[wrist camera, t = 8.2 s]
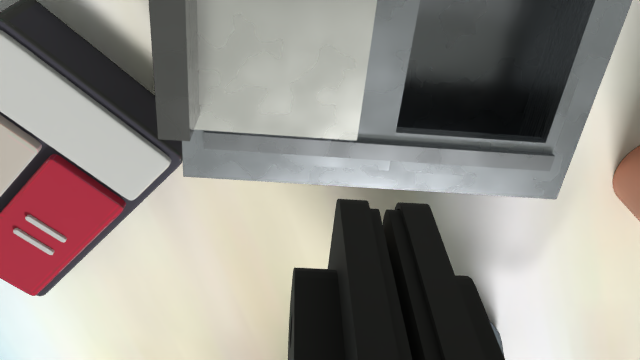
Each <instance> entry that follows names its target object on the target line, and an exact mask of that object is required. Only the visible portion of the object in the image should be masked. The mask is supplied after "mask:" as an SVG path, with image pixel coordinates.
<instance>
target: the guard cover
mask: <svg viewBox="0 0 640 360" xmlns="http://www.w3.org/2000/svg"><path fill="white" fill-rule="evenodd" d="M376 5H377V0H149V11H150V26H151V41H152V56H153V70H154V85H155V100H156V115H157V130H158V139H162V140H177V141H190V140H191V137H192V134H193V132H194V130H209V131H223V132H238V133H253V134H267V135H282V136H297V137H312V138H326V139H341V140H356V141H357V136H358V129H359V123H360V116H361V109H362V102H363V95H364V88H365V81H366V74H367V67H368V61H369V54H370V47H371V40H372V33H373V26H374V19H375V12H376Z"/></svg>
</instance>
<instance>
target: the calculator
mask: <svg viewBox="0 0 640 360" xmlns="http://www.w3.org/2000/svg"><path fill="white" fill-rule="evenodd" d="M182 161H183V154H182V141H177V140H162V139H158V130H157V115H156V100H155V96H154V95H153V94H152V93H151V92H149V91H148V90H147V89H146V88H144V87H143V86H142V85H141V84H139V83H138V82H137V81H136V80H134V79H133V78H132V77H131V76H129V75H128V74H127V73H126V72H124V71H123V70H122V69H121V68H119V67H118V66H117V65H116V64H114V63H113V62H112V61H111V60H109V59H108V58H107V57H106V56H104V55H103V54H102V53H101V52H100V51H98V50H97V49H96V48H95V47H93V46H92V45H91V44H90V43H88V42H87V41H86V40H85V39H83V38H82V37H81V36H80V35H78V34H77V33H76V32H75V31H73V30H72V29H71V28H70V27H68V26H67V25H66V24H65V23H63V22H62V21H61V20H60V19H58V18H57V17H56V16H55V15H53V14H52V13H51V12H50V11H48V10H47V9H46V8H45V7H43V6H42V5H41V4H40V3H38V2H37V1H36V0H20V1H18V2H16V3H15V4H13V5H11V6H10V7H8V8H7V9H5V10H3V11H2V12H0V278H1V279H3V280H4V281H6V282H8V283H10V284H11V285H13V286H15V287H17V288H19V289H20V290H22V291H24V292H26V293H27V294H29V295H32V296H35V295H37V296H43V295H45V294H46V293H47V292H48V291H49V290H51V289H52V288H53V287H54V286H55V285H56V284H57V283H58V282H59V281H60V280H61V279H62V278H63V277H64V276H65V275H66V274H67V273H68V272H69V271H70V270H71V269H72V268H73V267H74V266H75V265H77V264H78V263H79V262H80V261H81V260H82V259H83V258H84V257H85V256H86V255H87V254H88V253H89V252H90V251H91V250H92V249H93V248H94V247H95V246H96V245H97V244H98V243H99V242H100V241H102V240H103V239H104V238H105V237H106V236H107V235H108V234H109V233H110V232H111V231H112V230H113V229H114V228H115V227H116V226H117V225H118V224H119V223H120V222H121V221H122V220H123V219H124V218H125V217H126V216H128V215H129V214H130V213H131V212H132V211H133V210H134V209H135V208H136V207H137V206H138V205H139V204H140V203H141V202H142V201H143V200H144V199H145V198H146V197H147V196H148V195H149V194H150V193H151V192H153V191H154V190H155V189H156V188H157V187H158V186H159V185H160V184H161V183H162V182H163V181H164V180H165V179H166V178H167V177H168V176H169V175H170V174H171V173H172V172H173V171H174V170H175V169H176V168H177V167H178V166H179V165H180V164H181V163H182Z"/></svg>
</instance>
